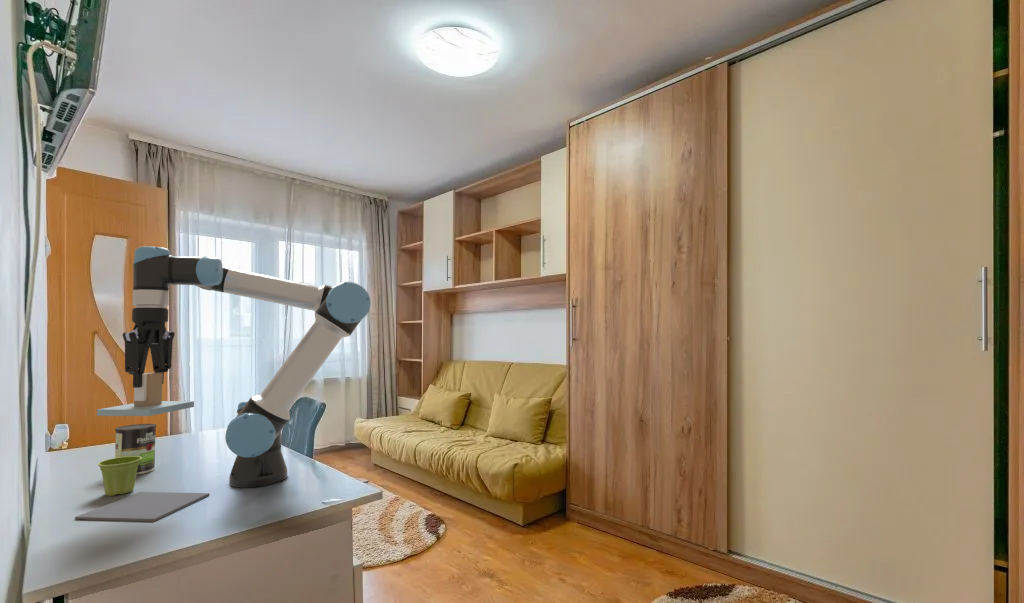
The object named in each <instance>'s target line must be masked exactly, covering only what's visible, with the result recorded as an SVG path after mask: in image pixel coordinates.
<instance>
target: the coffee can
mask: <svg viewBox="0 0 1024 603" xmlns="http://www.w3.org/2000/svg"><path fill="white" fill-rule="evenodd" d="M156 431H157V424H154V423H138V424H136V423H135V424H128V425H122V426H118V427H116V428H115V442H114V443H115V446H114V447H115V449H114V458H118V457H126V456H140V457H142V459H141V460H140V462H139V465H138V468H137V473H136V476H137V475H138V474H140V475H144V474H148V473H151V472H153V471H154V470H156V468H155V466H156V465H155V462H156V460H155V459H156ZM138 476H139V475H138Z"/></svg>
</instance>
